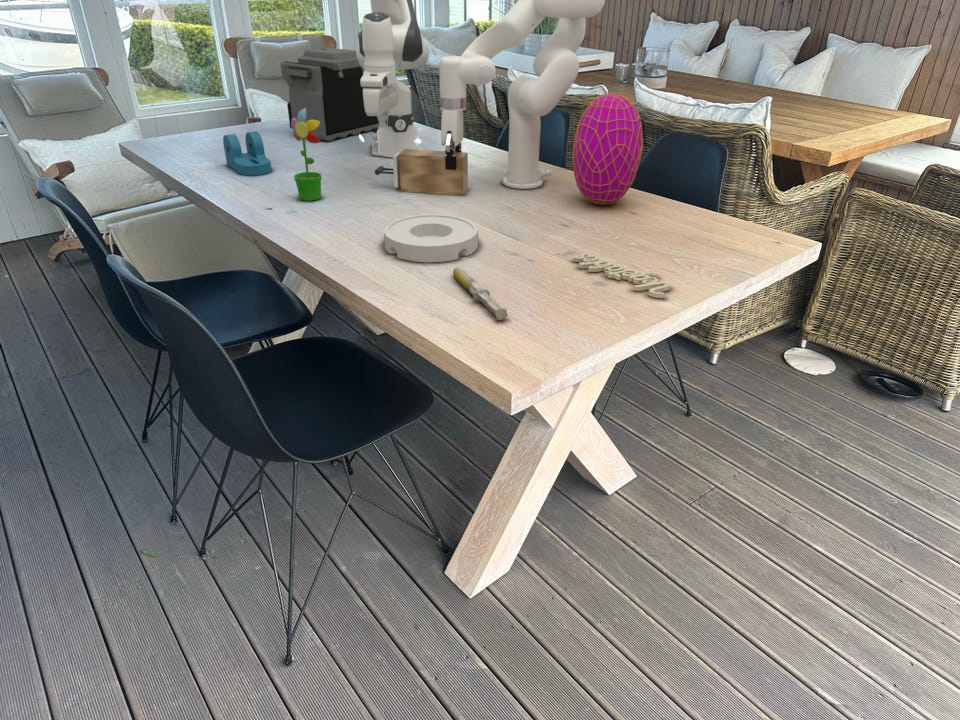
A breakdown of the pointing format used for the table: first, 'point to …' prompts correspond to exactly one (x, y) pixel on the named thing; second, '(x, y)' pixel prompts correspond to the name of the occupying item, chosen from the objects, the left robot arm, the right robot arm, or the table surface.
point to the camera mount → (246, 154)
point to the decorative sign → (625, 274)
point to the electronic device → (328, 92)
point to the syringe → (479, 293)
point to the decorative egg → (607, 148)
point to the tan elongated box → (432, 172)
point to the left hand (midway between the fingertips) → (383, 126)
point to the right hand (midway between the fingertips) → (453, 165)
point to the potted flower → (307, 180)
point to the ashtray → (431, 237)
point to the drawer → (395, 168)
